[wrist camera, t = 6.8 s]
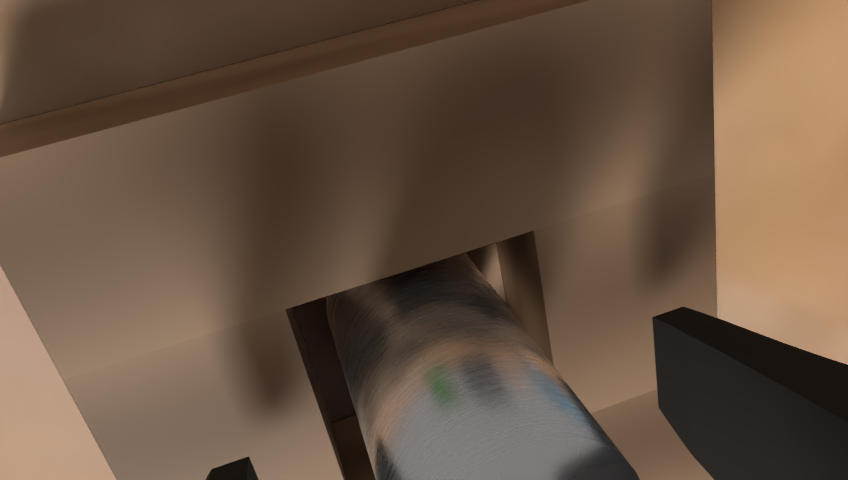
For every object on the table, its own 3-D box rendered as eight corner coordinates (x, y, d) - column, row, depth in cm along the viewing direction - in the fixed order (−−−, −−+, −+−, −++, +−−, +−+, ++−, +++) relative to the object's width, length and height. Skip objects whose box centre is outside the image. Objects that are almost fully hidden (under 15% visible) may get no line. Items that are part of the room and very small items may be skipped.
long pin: (484, 342, 17) (646, 588, 11) (343, 382, 16) (426, 669, 10) (467, 210, 15) (644, 407, 9) (310, 249, 15) (385, 490, 8)
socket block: (661, 424, 19) (719, 488, 17) (224, 587, 17) (227, 683, 15) (631, -40, 14) (710, -33, 12) (-4, 125, 12) (-51, 170, 10)
